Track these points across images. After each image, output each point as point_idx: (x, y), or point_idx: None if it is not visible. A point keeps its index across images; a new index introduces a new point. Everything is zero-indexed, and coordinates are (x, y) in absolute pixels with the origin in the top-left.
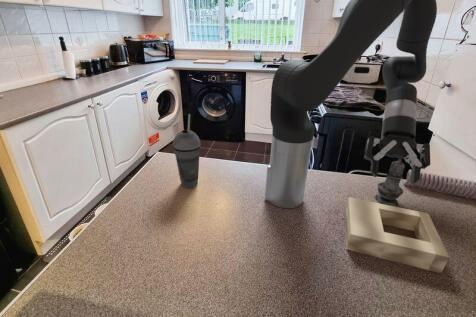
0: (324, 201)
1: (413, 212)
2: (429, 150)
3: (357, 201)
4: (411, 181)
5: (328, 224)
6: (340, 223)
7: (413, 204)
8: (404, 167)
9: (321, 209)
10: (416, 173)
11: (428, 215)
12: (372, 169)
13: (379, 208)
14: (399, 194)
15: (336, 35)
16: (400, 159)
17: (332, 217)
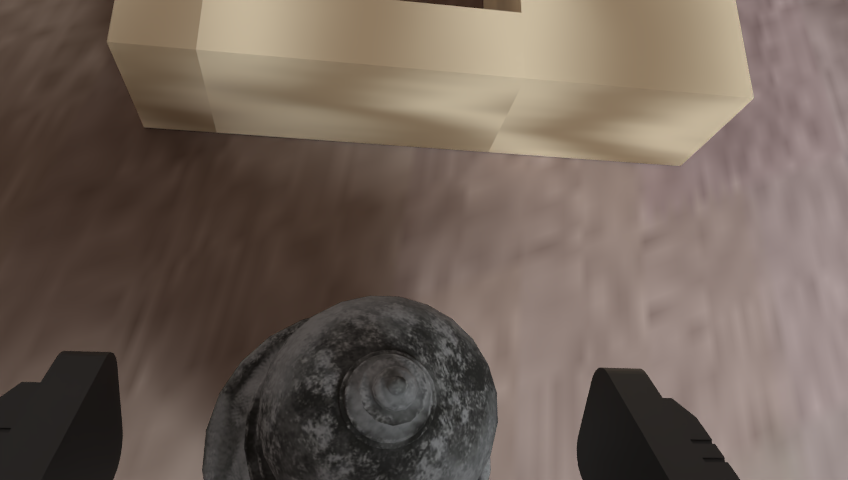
0: (837, 242)
1: (242, 24)
2: None
3: (683, 58)
4: (114, 430)
5: (753, 8)
6: None
7: None
8: (273, 360)
9: (828, 138)
10: (30, 426)
11: (118, 13)
12: (695, 426)
13: (516, 12)
14: (275, 334)
15: None
16: (392, 368)
17: None
